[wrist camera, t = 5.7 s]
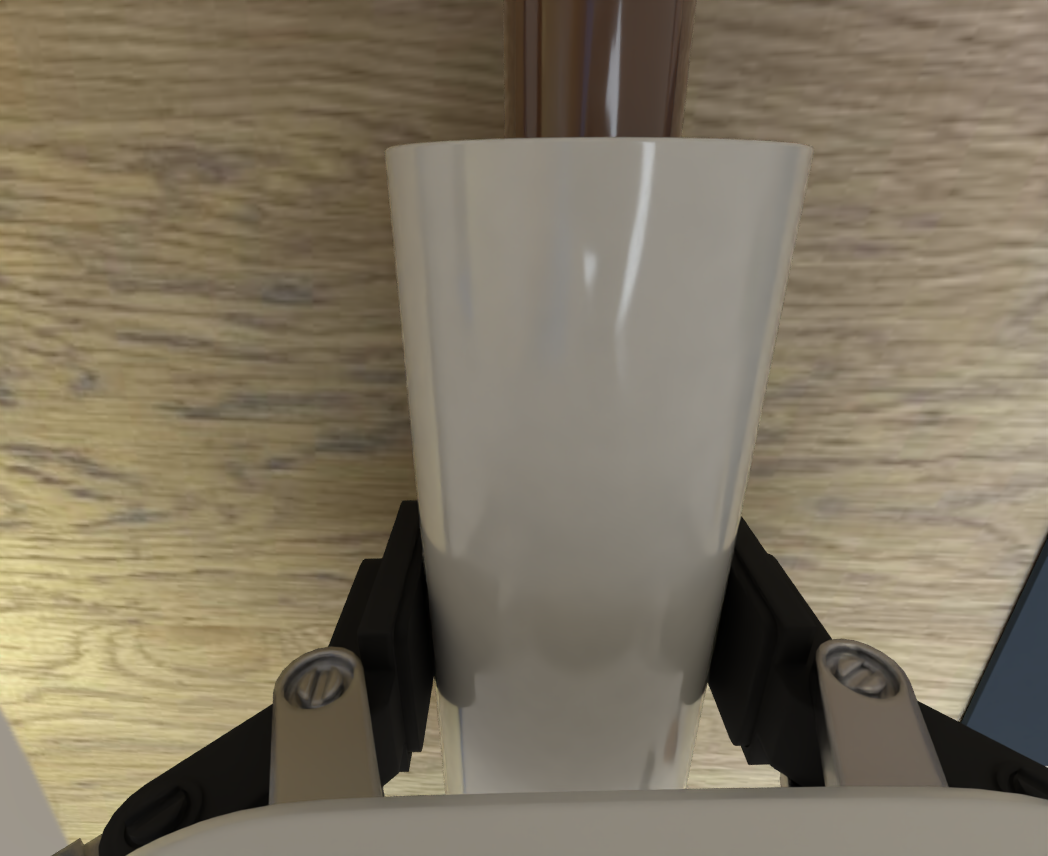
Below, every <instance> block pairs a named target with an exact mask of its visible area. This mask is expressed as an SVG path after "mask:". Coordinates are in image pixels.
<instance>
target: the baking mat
mask: <svg viewBox="0 0 1048 856" xmlns="http://www.w3.org/2000/svg"><path fill="white" fill-rule="evenodd" d="M961 723H962V724H964V725H966V726H968V727H970V728H971V729H973V730H975V731H977V732H979V733H981V734H983V735H985V736H987V737H989V738H991V739H993V740H995V741H997V742H999V743H1001V744H1003V745H1005V746H1007V747H1008V748H1010V749H1012V750H1014V751H1016V752H1018V753H1020V754H1022V755H1024V756H1026V757H1028V758H1030V759H1032V760H1034V761H1036V762H1038V763H1040V764H1042V765H1044V766H1048V539H1047V541H1046V543H1045V545H1044V547H1043V549H1042V551H1041V553H1040V556H1039V558H1038V560H1037V562H1036V564H1035V566H1034V568H1033V570H1032V573H1031V575H1030V577H1029V579H1028V581H1027V583H1026V585H1025V587H1024V590H1023V592H1022V594H1021V596H1020V598H1019V600H1018V602H1017V605H1016V607H1015V609H1014V611H1013V613H1012V615H1011V617H1010V619H1009V622H1008V624H1007V626H1006V628H1005V630H1004V632H1003V634H1002V636H1001V639H1000V641H999V643H998V645H997V647H996V649H995V651H994V653H993V656H992V658H991V660H990V662H989V664H988V666H987V668H986V671H985V673H984V675H983V677H982V679H981V681H980V683H979V685H978V688H977V690H976V692H975V694H974V696H973V698H972V700H971V702H970V705H969V707H968V709H967V711H966V713H965V715H964V717H963V719H962V722H961Z"/></svg>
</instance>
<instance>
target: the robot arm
mask: <svg viewBox="0 0 1048 856" xmlns="http://www.w3.org/2000/svg"><path fill="white" fill-rule="evenodd" d="M433 678H434V671H433V661H432V650H431V639H430V629H429V618H428V608H427V597H426V587H425V576H424V566H423V555H422V544H421V534H420V523H419V513H418V502H417V500H407V501H402V503H401V505H400V508H399V511H398V514H397V517H396V520H395V523H394V526H393V529H392V531H391V534H390V537H389V540H388V543H387V546H386V549H385V552H384V555H383V558H380V559H364V560H363V561H362V563H361V565H360V567H359V570H358V572H357V575H356V577H355V580H354V582H353V585H352V587H351V590H350V592H349V595H348V597H347V600H346V603H345V605H344V608H343V610H342V613H341V615H340V618H339V620H338V623H337V625H336V628H335V631H334V633H333V636H332V638H331V641H330V643H329V646H328V647H325V648H318V649H315V650H313V651H310V652H307V653H305V654H303V655H302V656H300V657H298V658H297V659H295V660H294V661H292V662H291V663H290V664H289V665H288V666H287V667H286V668H285V669H284V670H283V671H282V673H281V674H280V676H279V677H278V679H277V681H276V683H275V687H274V692H273V704H272V705H270V706H268V707H267V708H265V709H264V710H262V711H261V712H259V713H257V714H256V715H254V716H253V717H251V718H250V719H248V720H246V721H245V722H243V723H242V724H240V725H239V726H237V727H235V728H234V729H232V730H231V731H229V732H228V733H226V734H224V735H223V736H221V737H220V738H218V739H217V740H215V741H213V742H212V743H210V744H209V745H207V746H206V747H204V748H202V749H201V750H199V751H198V752H196V753H194V754H193V755H191V756H190V757H188V758H187V759H185V760H183V761H182V762H180V763H179V764H177V765H176V766H174V767H172V768H171V769H169V770H168V771H166V772H165V773H163V774H161V775H160V776H158V777H157V778H155V779H154V780H152V781H150V782H149V783H147V784H146V785H144V786H143V787H142V788H140V789H139V790H138V791H136V792H135V793H134V794H132V795H131V796H130V797H129V798H128V799H127V800H126V801H125V802H124V803H123V804H122V805H121V806H120V807H119V808H118V809H117V810H116V812H115V813H114V814H113V816H112V817H111V819H110V821H109V822H108V824H107V825H106V827H105V829H104V831H103V834H101V835H99V836H98V837H96V838H95V839H93V840H91V841H90V842H88V843H87V844H85V845H84V844H83V842H82V841H81V839H78V840H76V841H75V842H73V843H71V844H70V845H68V846H66V847H65V848H63V849H62V850H60V851H58V852H57V853H55V854H54V855H52V856H1048V768H1047V767H1045V766H1044V765H1042V764H1040V763H1038V762H1036V761H1034V760H1032V759H1030V758H1028V757H1026V756H1024V755H1022V754H1020V753H1018V752H1016V751H1014V750H1012V749H1010V748H1008V747H1007V746H1005V745H1003V744H1001V743H999V742H997V741H995V740H993V739H991V738H989V737H987V736H985V735H983V734H981V733H979V732H977V731H975V730H973V729H971V728H970V727H968V726H966V725H964V724H962V723H960V722H958V721H956V720H954V719H952V718H950V717H948V716H946V715H944V714H942V713H940V712H938V711H936V710H934V709H932V708H931V707H929V706H927V705H925V704H923V703H921V702H919V701H917V699H916V696H915V694H914V691H913V688H912V686H911V683H910V681H909V679H908V677H907V675H906V674H905V672H904V671H903V670H902V668H901V667H900V666H899V665H898V664H897V663H896V662H895V661H894V660H892V659H891V658H890V657H888V656H887V655H885V654H884V653H883V652H881V651H879V650H877V649H875V648H873V647H871V646H869V645H867V644H864V643H861V642H858V641H854V640H847V639H833V640H832V638H831V637H830V635H829V634H828V633H827V631H826V630H825V628H824V627H823V625H822V624H821V623H820V621H819V620H818V618H817V617H816V615H815V614H814V613H813V611H812V610H811V608H810V607H809V605H808V604H807V603H806V601H805V600H804V598H803V597H802V595H801V594H800V593H799V591H798V590H797V588H796V587H795V585H794V584H793V583H792V581H791V580H790V578H789V577H788V575H787V574H786V573H785V571H784V570H783V568H782V567H781V565H780V564H779V563H778V561H777V560H776V559H775V558H774V557H773V556H772V555H770V554H767V553H766V551H765V550H764V548H763V547H762V545H761V544H760V542H759V541H758V539H757V538H756V537H755V535H754V534H753V532H752V531H751V529H750V528H749V526H748V525H747V523H746V522H745V520H744V519H743V518H742V516H741V518H740V523H739V528H738V533H737V538H736V543H735V548H734V553H733V558H732V563H731V568H730V573H729V578H728V583H727V588H726V593H725V598H724V603H723V608H722V613H721V618H720V623H719V628H718V633H717V638H716V643H715V648H714V653H713V658H712V663H711V668H710V673H709V678H708V684H709V687H710V689H711V692H712V694H713V697H714V699H715V702H716V705H717V707H718V710H719V712H720V715H721V717H722V720H723V722H724V725H725V728H726V730H727V733H728V735H729V738H730V740H731V742H732V743H733V745H735V746H741V748H742V750H743V753H744V755H745V758H746V760H747V763H748V765H762V764H770V766H772V767H773V768H775V769H776V770H778V771H779V772H780V785H781V787H776V788H711V789H662V790H614V791H569V792H528V793H491V794H454V795H417V796H393V797H384V790H383V786H384V785H385V784H386V783H388V782H389V781H390V780H391V779H392V778H393V777H395V776H396V775H397V774H398V773H399V772H409V767H410V761H411V756H412V752H421V751H422V748H423V742H424V736H425V730H426V723H427V717H428V710H429V704H430V698H431V691H432V685H433Z"/></svg>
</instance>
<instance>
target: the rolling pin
mask: <svg viewBox="0 0 1048 856" xmlns="http://www.w3.org/2000/svg"><path fill="white" fill-rule="evenodd" d="M696 2H697V0H503V49H504V133H505V138H501V139H472V140H451V141H434V142H421V143H409V144H402V145H395V146H391V147H388V148H387V149H385V152H384V154H385V164H386V175H387V186H388V196H389V207H390V217H391V228H392V238H393V249H394V259H395V270H396V281H397V291H398V302H399V312H400V323H401V333H402V344H403V354H404V365H405V376H406V386H407V397H408V407H409V418H410V428H411V439H412V449H413V460H414V471H415V481H416V492H417V502H418V513H419V523H420V534H421V544H422V555H423V566H424V576H425V587H426V597H427V608H428V618H429V629H430V639H431V650H432V661H433V671H434V682H435V692H436V703H437V713H438V724H439V734H440V745H441V756H442V766H443V777H444V787H445V795H454V794H491V793H528V792H569V791H614V790H662V789H686V787H687V782H688V777H689V772H690V767H691V762H692V757H693V752H694V747H695V742H696V737H697V732H698V727H699V722H700V717H701V713H702V708H703V703H704V698H705V693H706V688H707V683H708V678H709V673H710V668H711V663H712V658H713V653H714V648H715V643H716V638H717V633H718V628H719V623H720V618H721V613H722V608H723V603H724V598H725V593H726V588H727V583H728V578H729V573H730V568H731V563H732V558H733V553H734V548H735V543H736V538H737V533H738V528H739V523H740V518H741V514H742V509H743V504H744V499H745V494H746V489H747V484H748V479H749V474H750V469H751V464H752V459H753V454H754V449H755V444H756V439H757V434H758V429H759V424H760V419H761V414H762V409H763V404H764V399H765V394H766V389H767V384H768V379H769V374H770V369H771V364H772V359H773V354H774V349H775V344H776V339H777V334H778V329H779V324H780V319H781V314H782V310H783V305H784V300H785V295H786V290H787V285H788V280H789V275H790V270H791V265H792V260H793V255H794V250H795V245H796V240H797V235H798V230H799V225H800V220H801V215H802V210H803V205H804V200H805V195H806V190H807V185H808V180H809V175H810V170H811V165H812V160H813V155H814V148H813V147H812V146H810V145H807V144H802V143H795V142H784V141H771V140H753V139H729V138H690V137H682V130H683V121H684V112H685V103H686V94H687V84H688V75H689V66H690V57H691V48H692V39H693V29H694V20H695V11H696Z"/></svg>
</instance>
